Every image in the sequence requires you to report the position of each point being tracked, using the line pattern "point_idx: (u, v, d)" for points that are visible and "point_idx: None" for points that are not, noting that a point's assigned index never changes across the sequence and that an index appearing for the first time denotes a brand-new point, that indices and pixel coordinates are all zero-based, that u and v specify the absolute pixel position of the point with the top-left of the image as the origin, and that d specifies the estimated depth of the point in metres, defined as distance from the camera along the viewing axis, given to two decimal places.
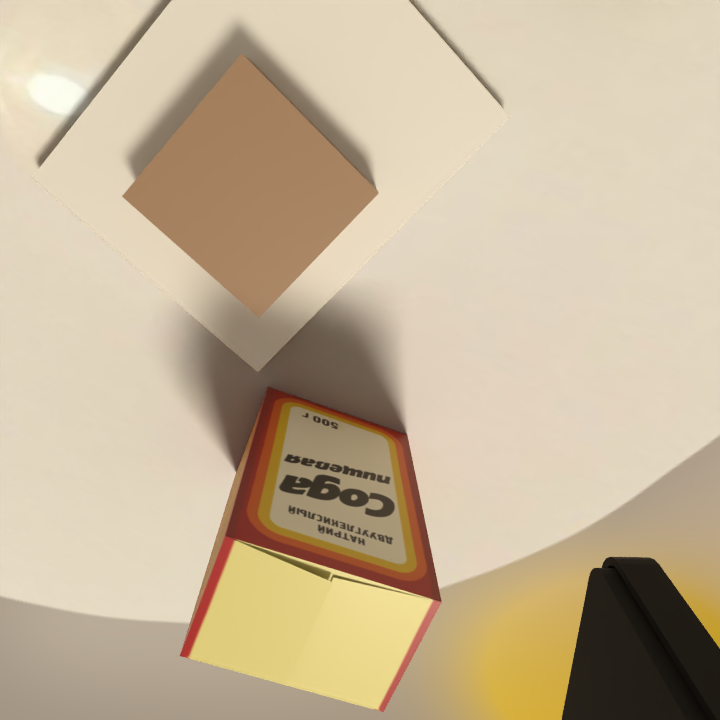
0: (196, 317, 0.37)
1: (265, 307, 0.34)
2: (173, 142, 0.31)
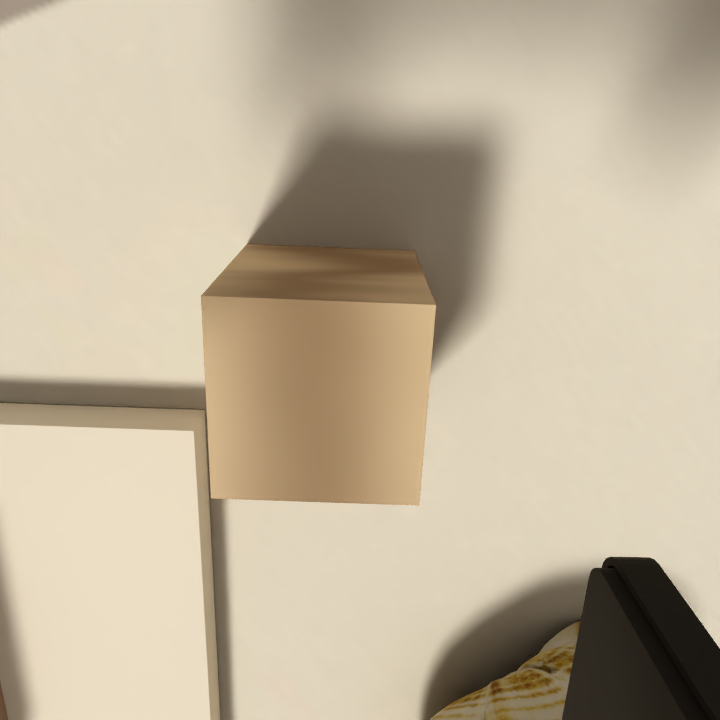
0: None
1: None
2: None
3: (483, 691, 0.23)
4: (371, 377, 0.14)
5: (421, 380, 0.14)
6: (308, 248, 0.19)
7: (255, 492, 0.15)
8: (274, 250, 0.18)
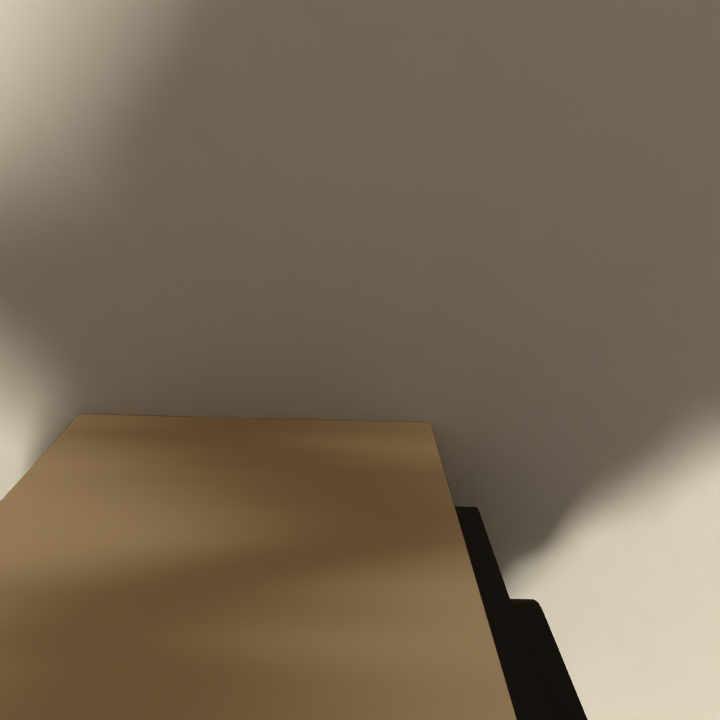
0: None
1: None
2: None
3: None
4: None
5: None
6: (206, 428, 0.09)
7: None
8: (126, 443, 0.08)
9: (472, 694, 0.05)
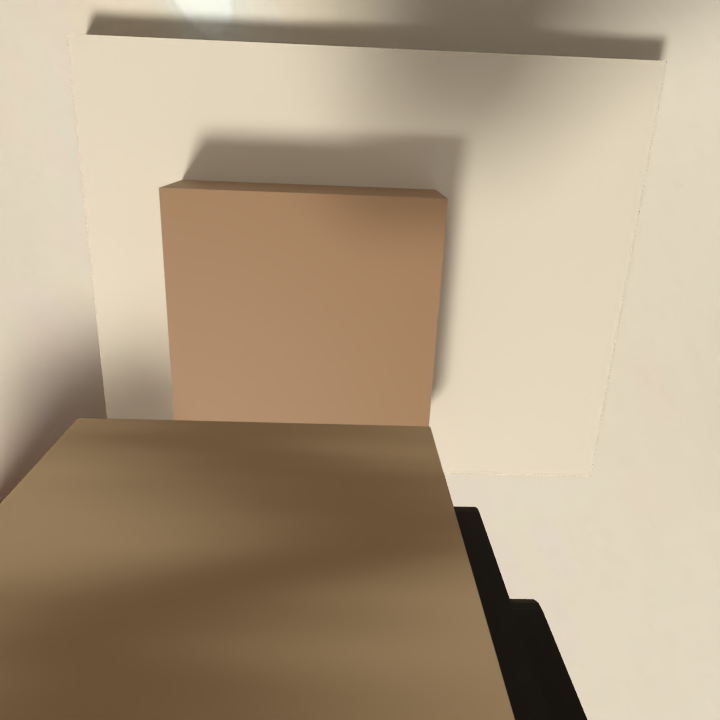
0: (103, 355, 0.25)
1: None
2: (280, 199, 0.20)
3: None
4: None
5: None
6: (205, 432, 0.09)
7: None
8: (123, 448, 0.08)
9: (473, 704, 0.05)
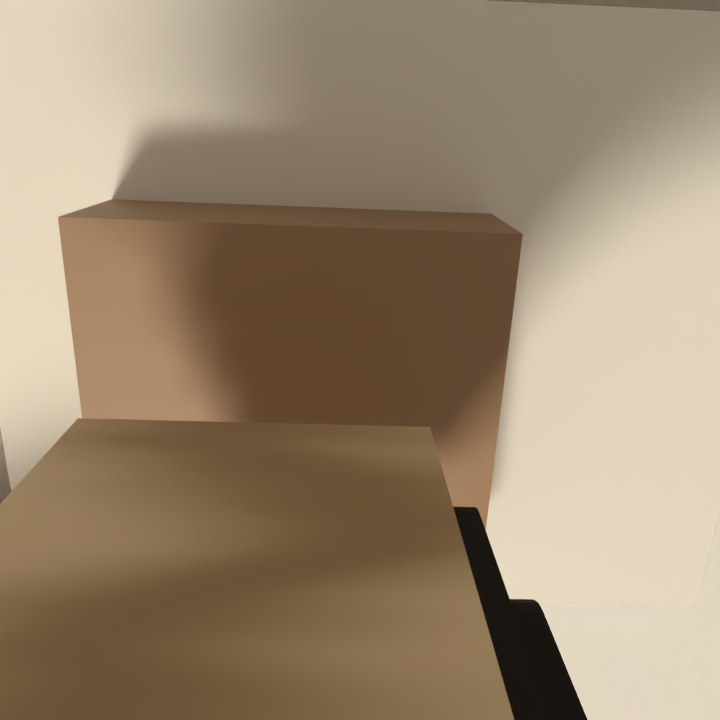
0: (9, 448, 0.17)
1: None
2: (254, 235, 0.13)
3: None
4: None
5: None
6: (205, 433, 0.09)
7: None
8: (123, 449, 0.08)
9: (473, 706, 0.05)
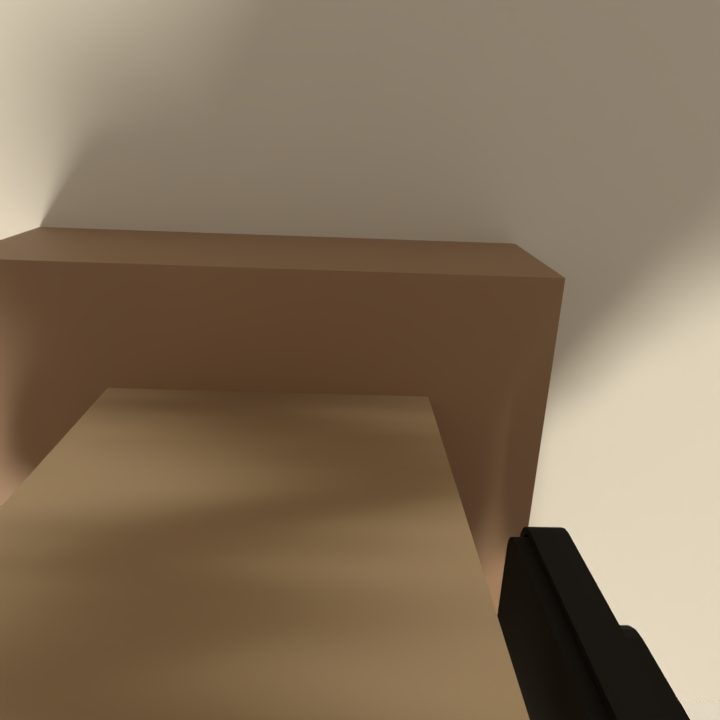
0: None
1: None
2: (210, 281, 0.09)
3: None
4: None
5: None
6: (224, 400, 0.10)
7: None
8: (152, 412, 0.09)
9: (463, 607, 0.06)
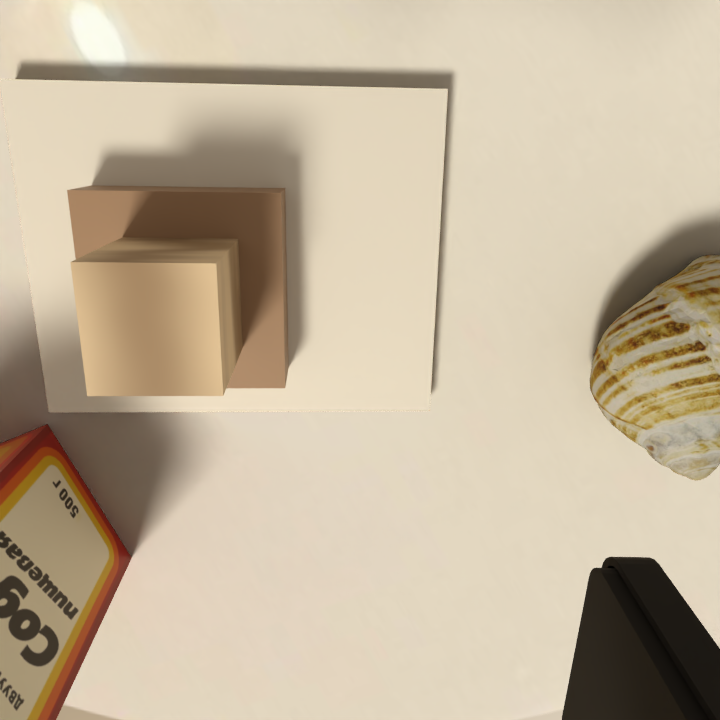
0: (38, 323, 0.32)
1: None
2: (157, 196, 0.28)
3: None
4: (182, 311, 0.23)
5: (213, 311, 0.23)
6: (163, 239, 0.28)
7: (115, 390, 0.24)
8: (138, 240, 0.27)
9: (213, 257, 0.24)
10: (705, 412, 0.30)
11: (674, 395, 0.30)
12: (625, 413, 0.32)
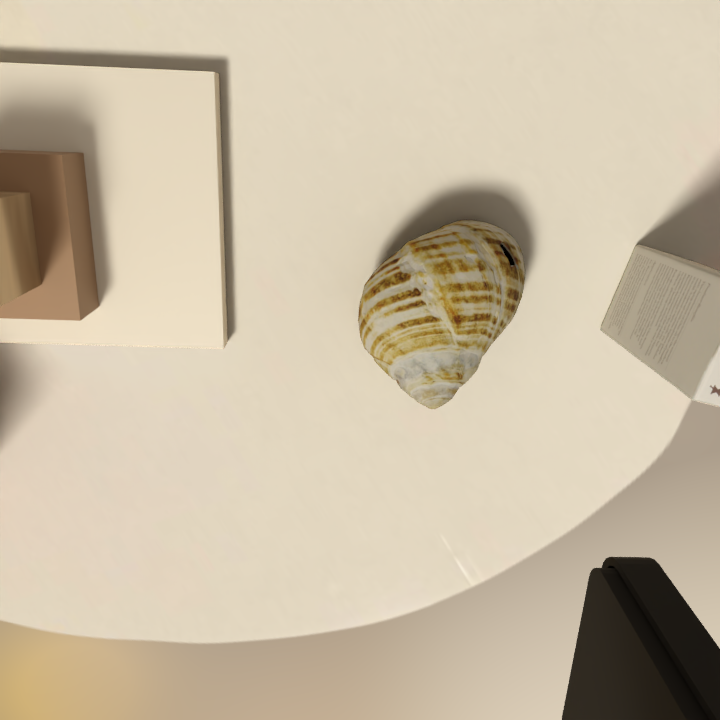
0: None
1: None
2: None
3: None
4: None
5: None
6: None
7: None
8: None
9: None
10: (427, 349, 0.36)
11: (401, 334, 0.36)
12: (374, 351, 0.38)
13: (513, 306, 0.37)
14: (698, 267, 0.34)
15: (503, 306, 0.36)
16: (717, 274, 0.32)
